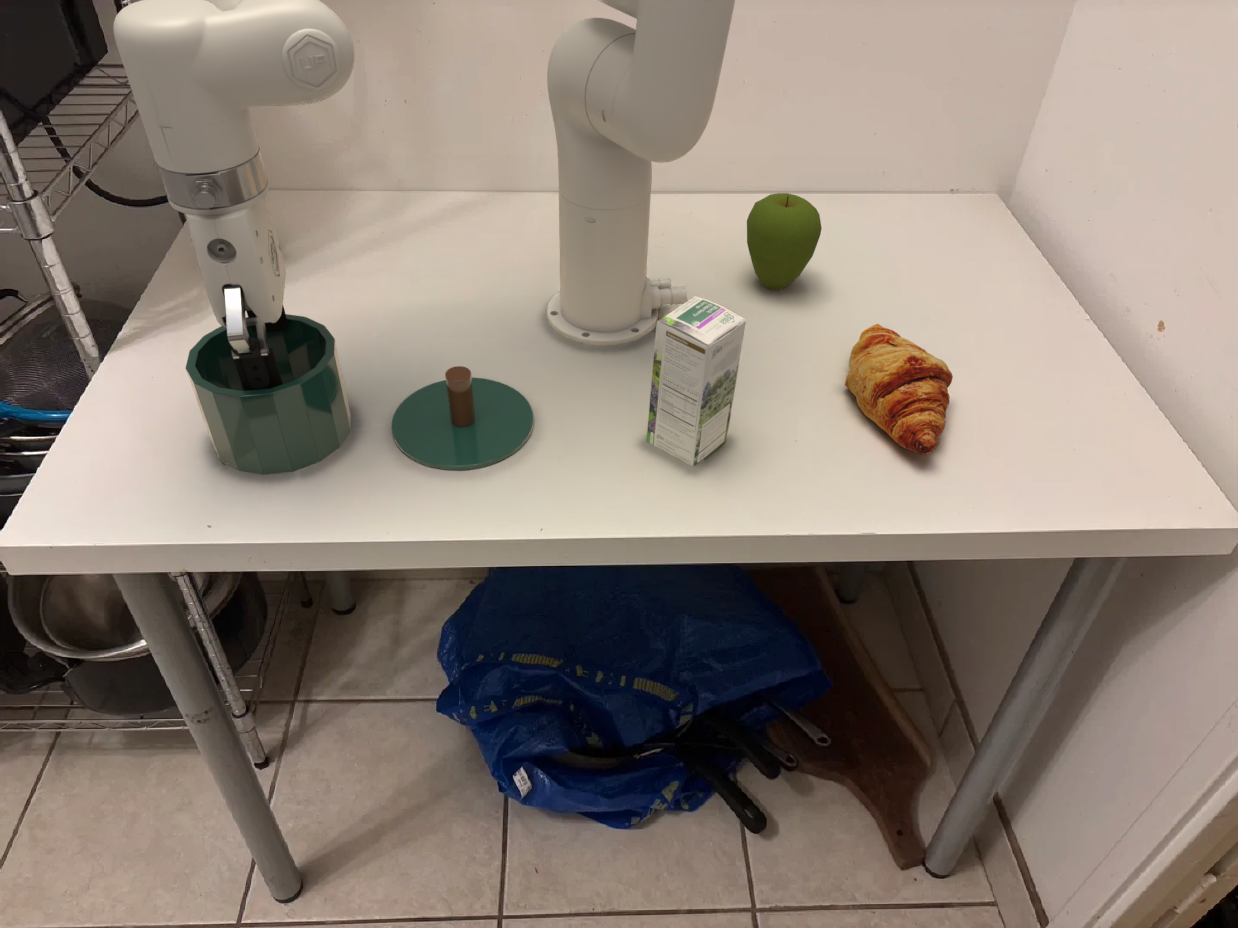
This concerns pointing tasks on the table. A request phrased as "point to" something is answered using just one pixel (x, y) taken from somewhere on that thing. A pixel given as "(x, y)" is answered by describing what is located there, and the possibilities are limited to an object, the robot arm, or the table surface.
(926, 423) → the croissant
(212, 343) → the canister
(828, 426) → the table surface
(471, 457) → the lid
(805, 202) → the apple
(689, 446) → the syrup box
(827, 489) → the table surface
